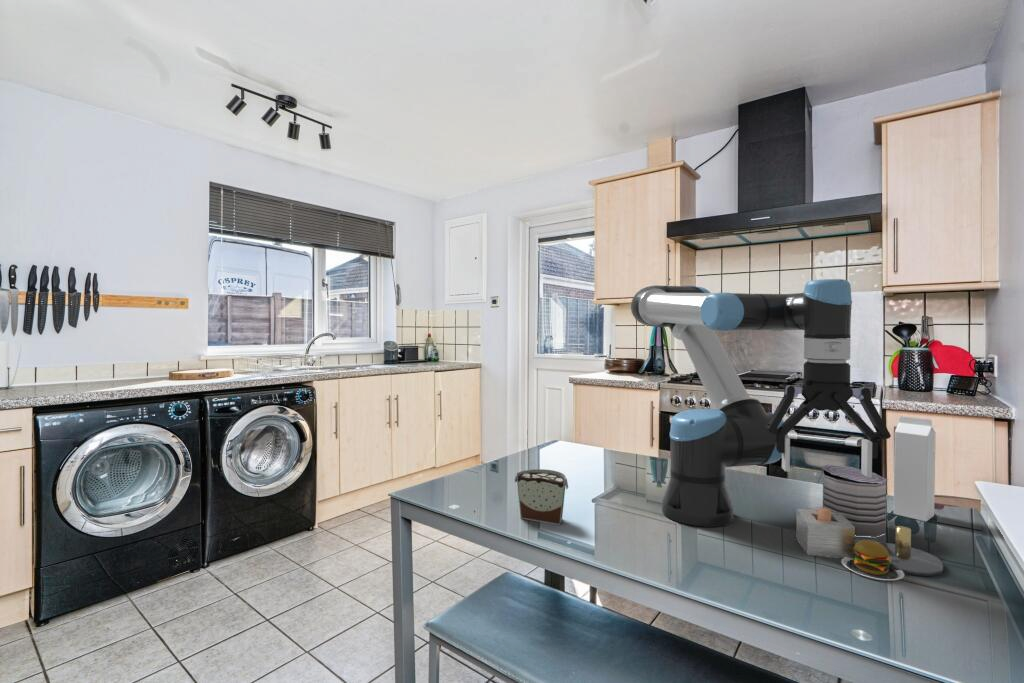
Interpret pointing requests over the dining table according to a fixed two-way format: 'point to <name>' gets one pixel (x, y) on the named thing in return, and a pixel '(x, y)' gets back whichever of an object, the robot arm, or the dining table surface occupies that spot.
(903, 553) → the hub
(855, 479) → the can
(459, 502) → the dining table surface
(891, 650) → the dining table surface
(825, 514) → the sausage
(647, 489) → the dining table surface
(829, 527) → the collar
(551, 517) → the food container
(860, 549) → the hamburger
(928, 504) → the milk
